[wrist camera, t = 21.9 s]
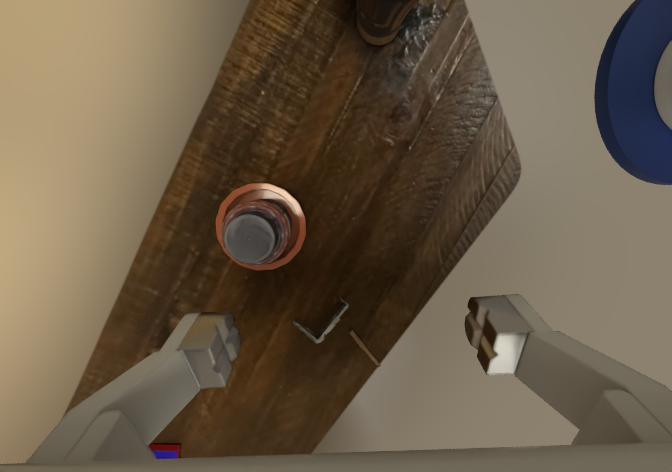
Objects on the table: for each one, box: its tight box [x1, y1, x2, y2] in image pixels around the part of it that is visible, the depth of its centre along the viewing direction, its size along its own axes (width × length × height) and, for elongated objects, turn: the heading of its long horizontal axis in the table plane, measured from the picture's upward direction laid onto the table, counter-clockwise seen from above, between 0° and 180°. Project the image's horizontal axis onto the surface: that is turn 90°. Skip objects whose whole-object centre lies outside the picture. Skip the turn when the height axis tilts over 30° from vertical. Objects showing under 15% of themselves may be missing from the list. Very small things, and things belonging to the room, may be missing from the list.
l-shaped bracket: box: [293, 299, 349, 343], centre depth 35 cm, size 7×1×5 cm
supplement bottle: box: [221, 199, 292, 266], centre depth 27 cm, size 6×6×11 cm
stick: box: [349, 329, 381, 367], centre depth 37 cm, size 7×1×1 cm, turn 36°
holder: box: [216, 183, 306, 270], centre depth 31 cm, size 9×9×4 cm
